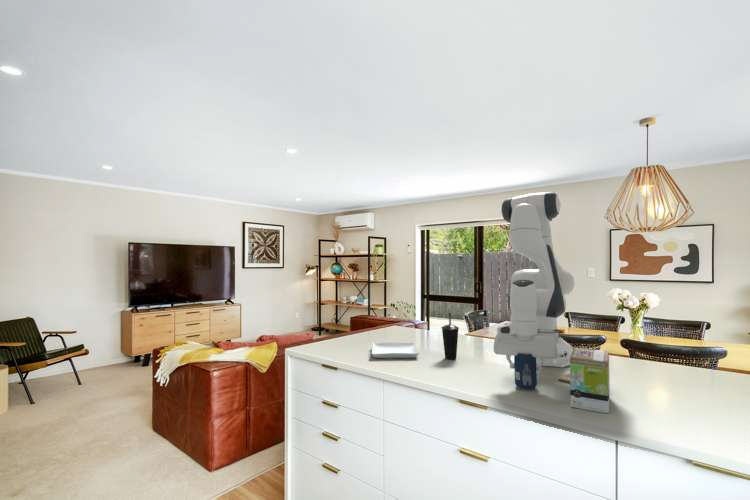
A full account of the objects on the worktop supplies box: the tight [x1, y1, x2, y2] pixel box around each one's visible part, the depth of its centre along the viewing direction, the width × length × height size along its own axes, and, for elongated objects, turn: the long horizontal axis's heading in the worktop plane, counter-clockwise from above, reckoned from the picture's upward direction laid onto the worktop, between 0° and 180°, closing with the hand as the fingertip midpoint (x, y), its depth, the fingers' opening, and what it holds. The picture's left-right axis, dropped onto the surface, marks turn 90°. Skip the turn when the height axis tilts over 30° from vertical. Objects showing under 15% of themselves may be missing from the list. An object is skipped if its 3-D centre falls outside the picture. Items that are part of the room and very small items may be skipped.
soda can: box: [513, 353, 538, 391], centre depth 128 cm, size 7×7×12 cm
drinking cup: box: [441, 312, 460, 361], centre depth 167 cm, size 8×8×20 cm
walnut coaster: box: [557, 372, 570, 384], centre depth 134 cm, size 10×10×1 cm
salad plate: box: [371, 342, 420, 359], centre depth 177 cm, size 21×21×3 cm
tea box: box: [569, 347, 611, 414], centre depth 114 cm, size 15×10×15 cm, turn 148°
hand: (525, 369), depth 128 cm, fingers closed on soda can, 7 cm apart
